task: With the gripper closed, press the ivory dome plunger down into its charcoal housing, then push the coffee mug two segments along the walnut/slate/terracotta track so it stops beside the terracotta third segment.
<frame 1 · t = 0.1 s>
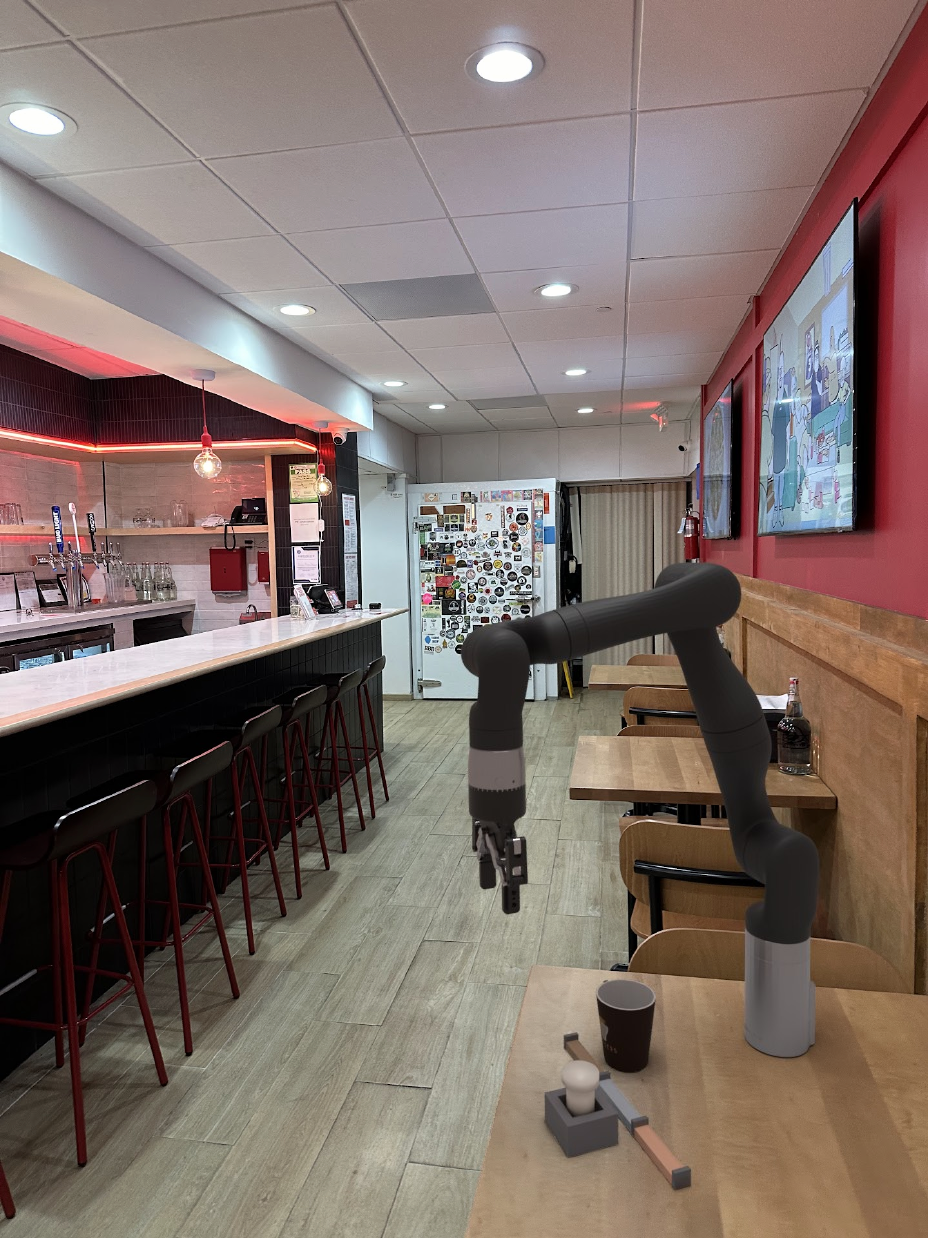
hand: (499, 899, 109), 29 cm above the table, fingers open, 8 cm apart
walnut segment: (585, 1065, 121), on the table
dome housing: (580, 1132, 107), on the table
terracotta segment: (659, 1158, 102), on the table
slate segment: (619, 1108, 111), on the table
coffee mug: (626, 1054, 123), on the table
dome plunger: (580, 1094, 106), point 5 cm above the table, slide at 0.0 cm
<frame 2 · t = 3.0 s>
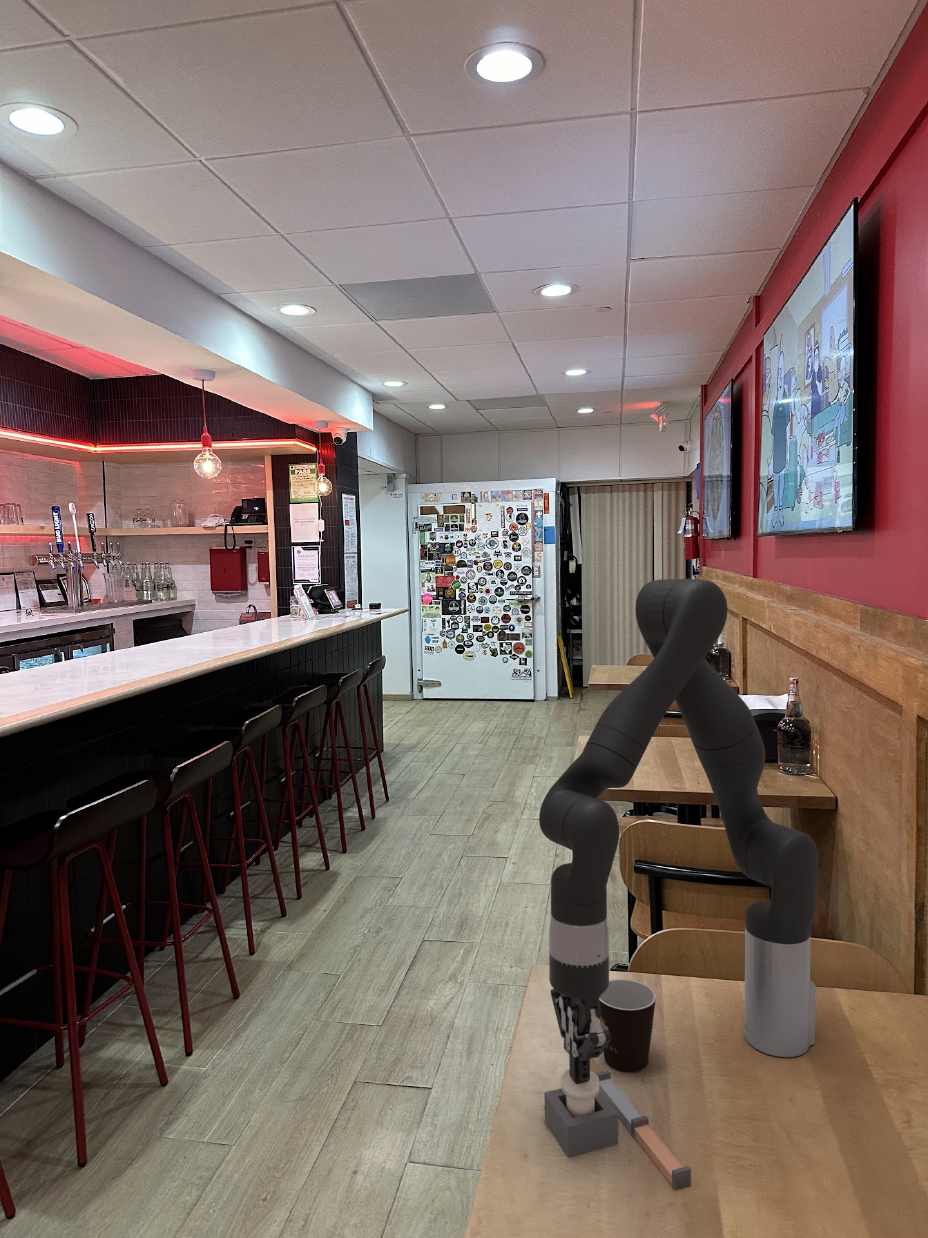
hand: (579, 1079, 106), 7 cm above the table, fingers closed
dome plunger: (580, 1102, 106), point 4 cm above the table, slide at 1.0 cm, touching gripper
everything else where it was.
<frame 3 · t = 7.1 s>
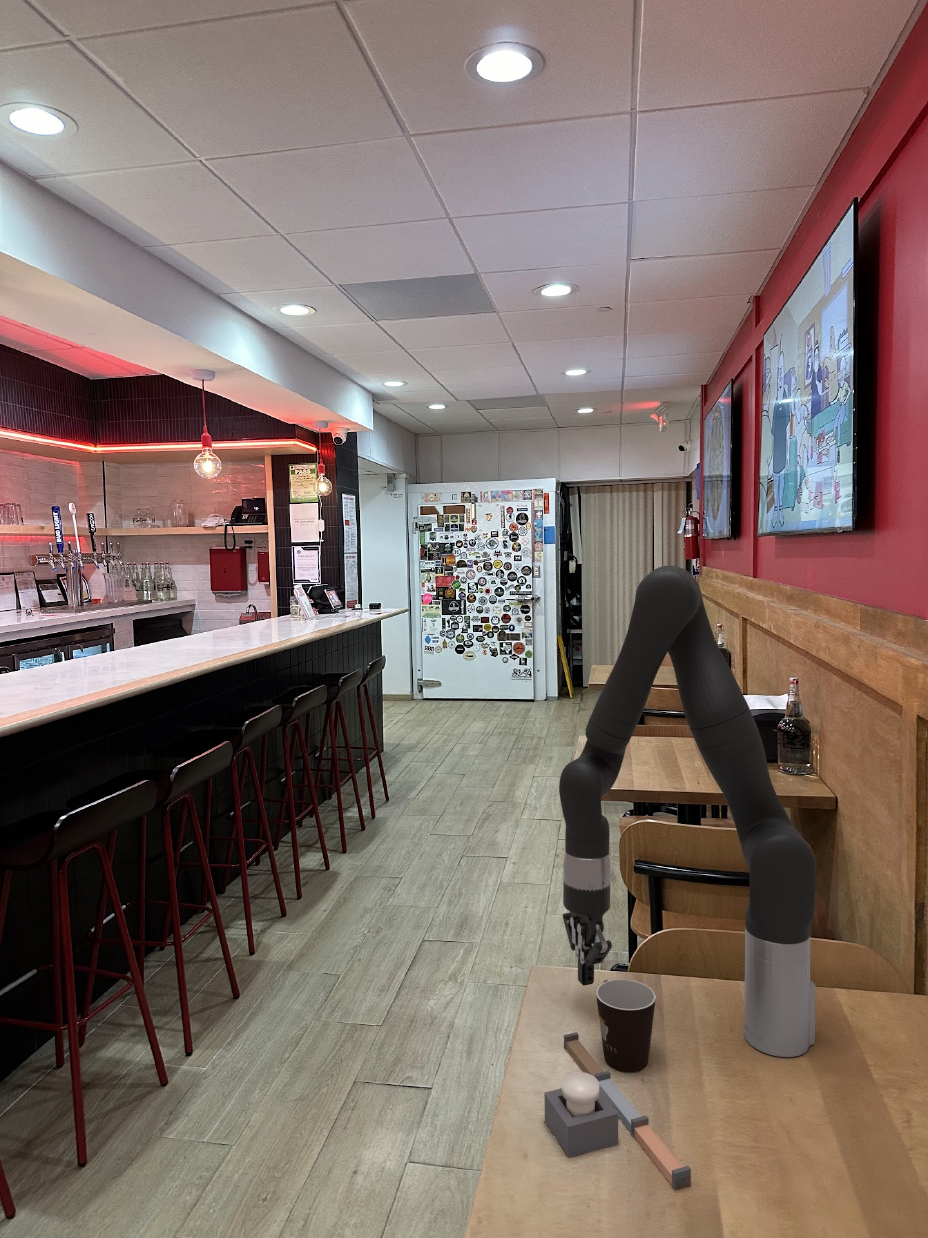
hand: (585, 982, 134), 5 cm above the table, fingers closed
dome plunger: (580, 1105, 106), point 4 cm above the table, slide at 1.6 cm
everything else where it was.
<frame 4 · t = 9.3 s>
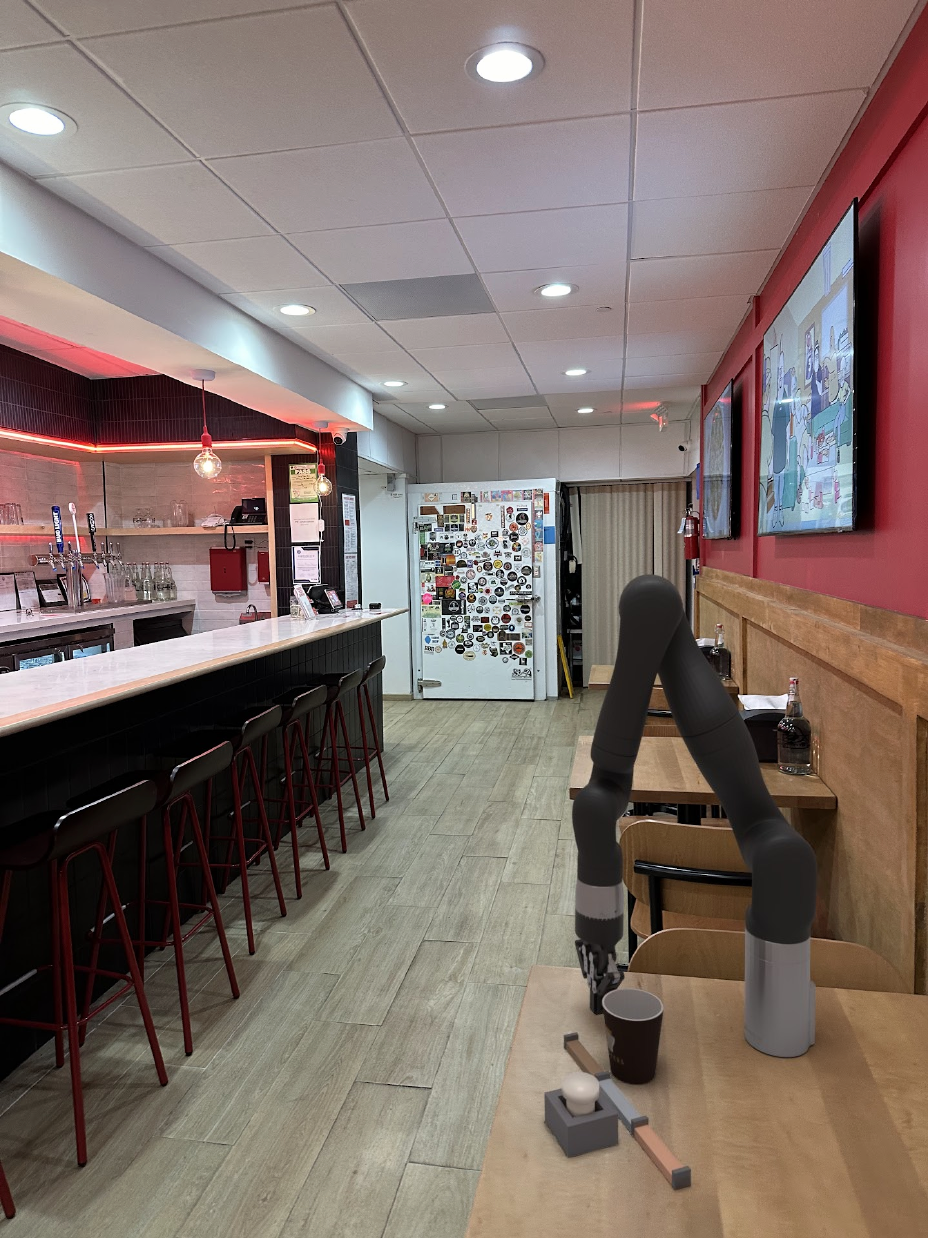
hand: (597, 1012, 131), 2 cm above the table, fingers closed
coffee mug: (632, 1065, 121), on the table, touching hand
everything else where it was.
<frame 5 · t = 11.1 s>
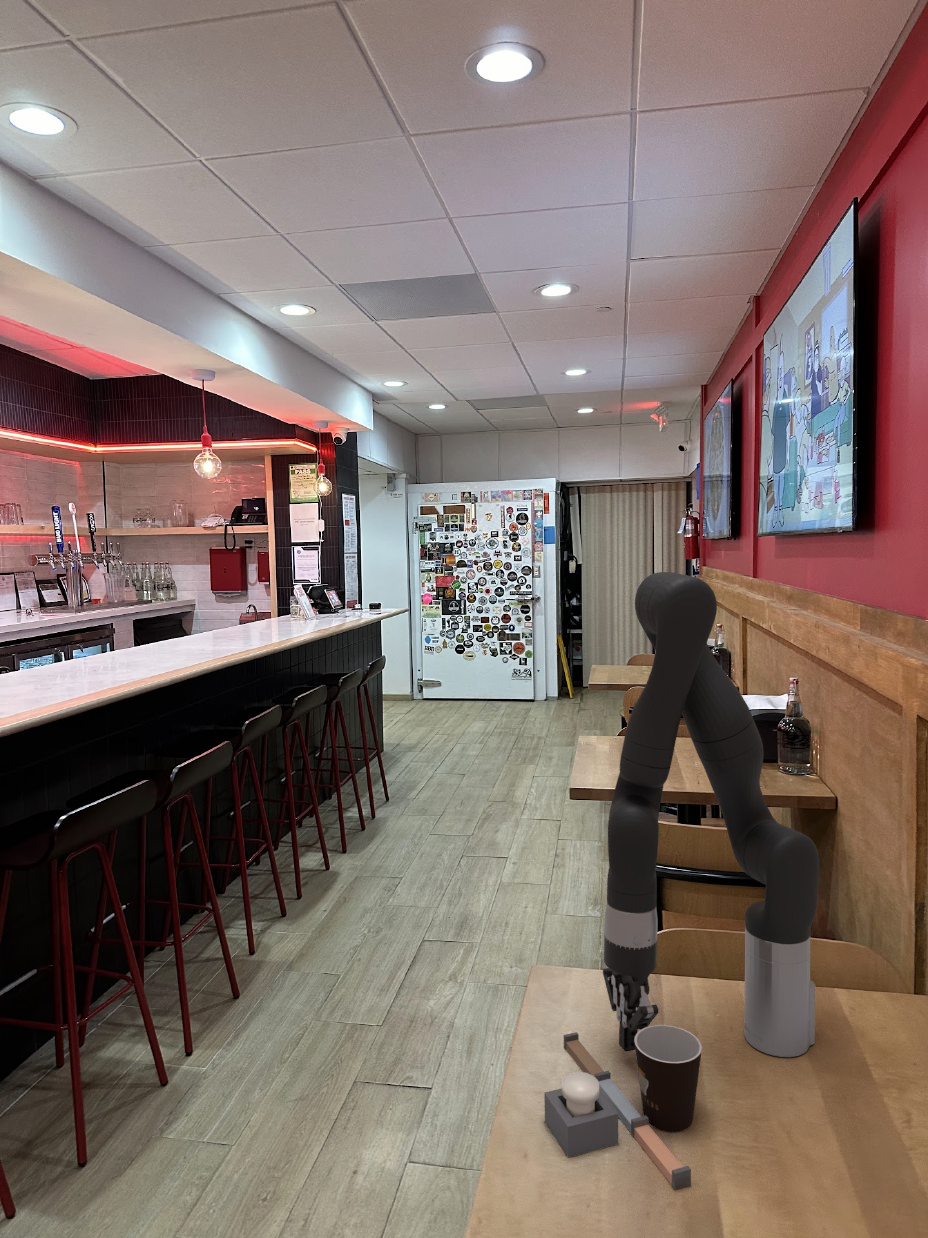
hand: (627, 1048, 121), 2 cm above the table, fingers closed
coffee mug: (667, 1109, 111), on the table, touching hand
everything else where it was.
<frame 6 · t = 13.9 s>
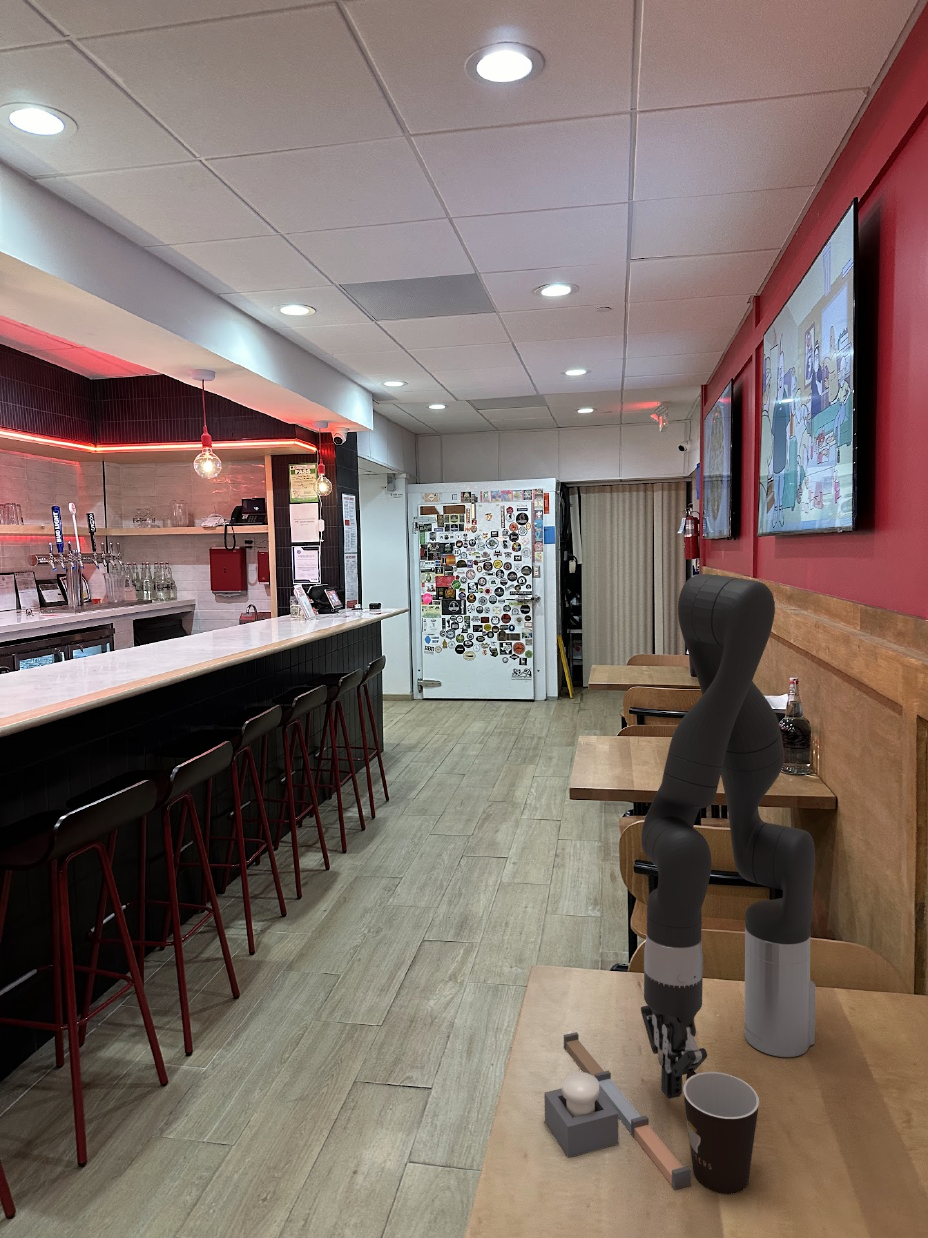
hand: (671, 1094, 111), 2 cm above the table, fingers closed
coffee mug: (719, 1166, 101), on the table, touching hand
everything else where it was.
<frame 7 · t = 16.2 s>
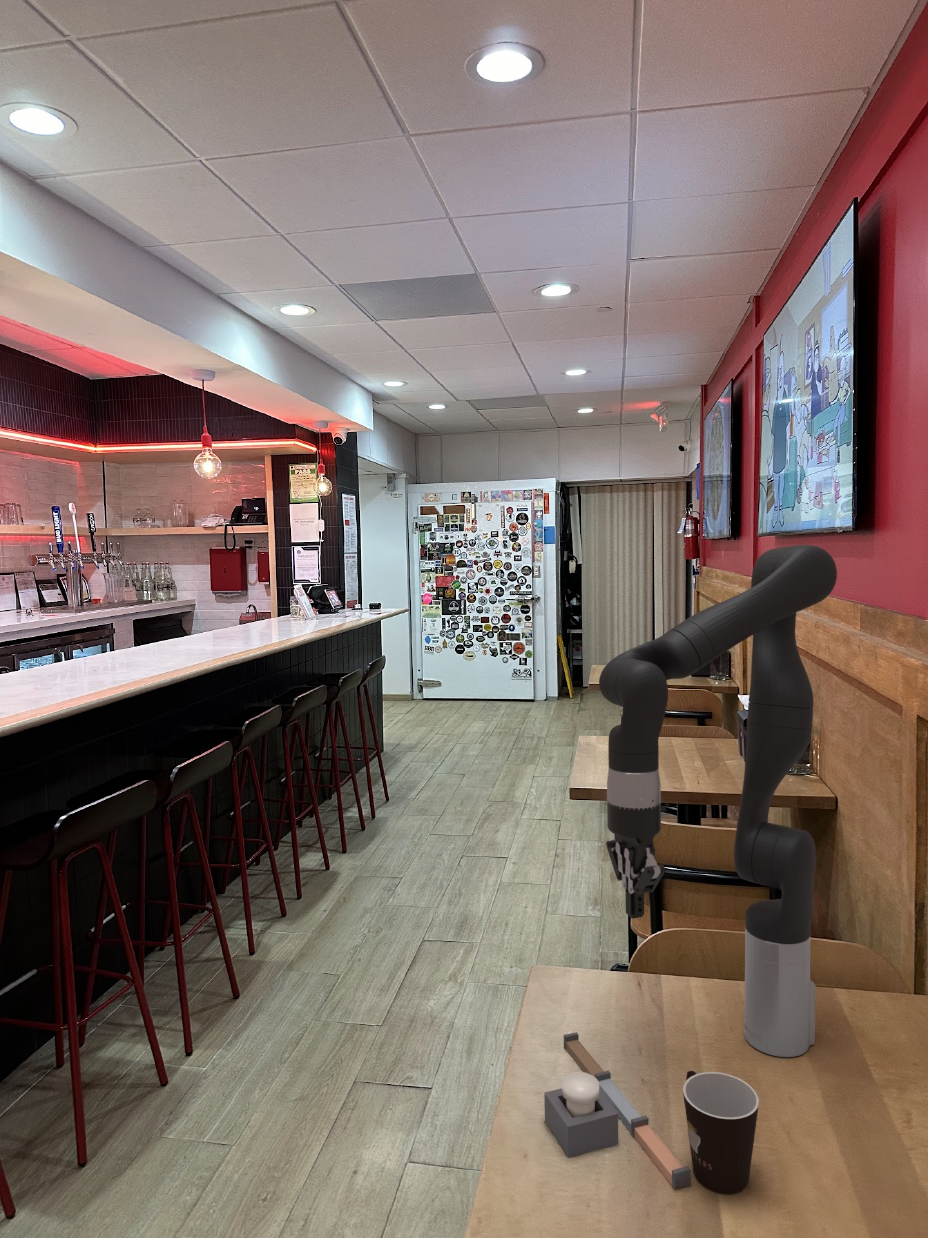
hand: (634, 915, 119), 22 cm above the table, fingers closed
coffee mug: (719, 1166, 101), on the table
everything else where it was.
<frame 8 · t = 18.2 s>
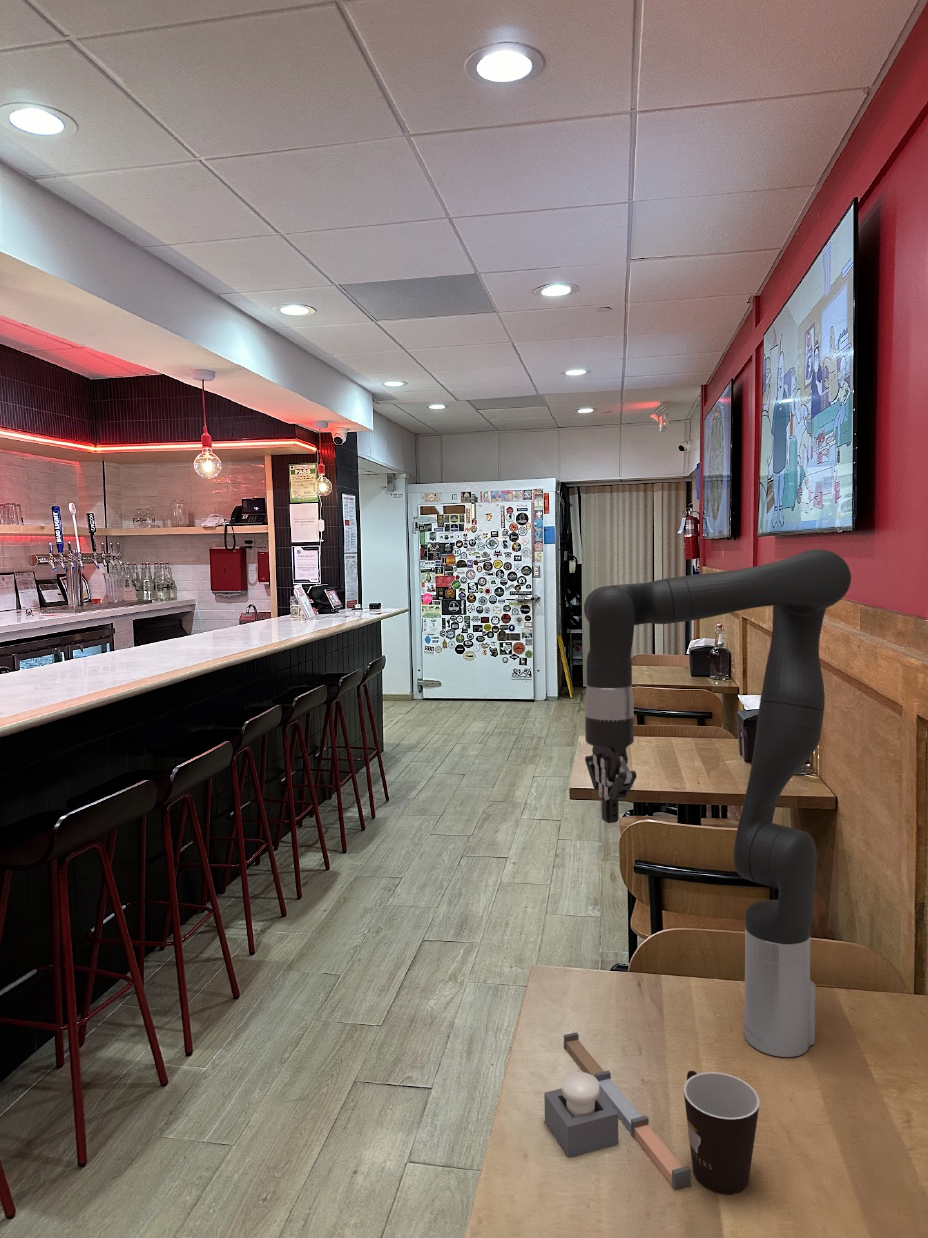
hand: (610, 821, 131), 32 cm above the table, fingers closed
nothing on the table moved.
at the end: dome plunger slide at 1.6 cm; coffee mug inside the target area (2.9 cm from its centre), on the table; coffee mug tilted 0° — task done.
